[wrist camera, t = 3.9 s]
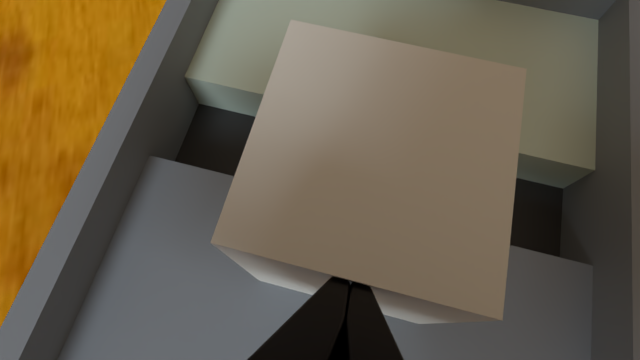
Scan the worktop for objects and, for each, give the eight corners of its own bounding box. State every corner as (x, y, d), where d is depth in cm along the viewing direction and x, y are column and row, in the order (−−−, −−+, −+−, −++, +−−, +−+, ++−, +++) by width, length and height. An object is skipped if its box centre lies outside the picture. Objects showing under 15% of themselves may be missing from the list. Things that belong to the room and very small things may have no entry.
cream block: (418, 324, 14) (502, 320, 8) (259, 280, 15) (210, 242, 8) (443, 173, 16) (526, 68, 10) (302, 140, 17) (290, 19, 10)
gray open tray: (565, 699, 13) (709, 917, 8) (3, 505, 14) (-148, 590, 10) (587, 42, 22) (661, -37, 17) (238, -27, 23) (217, -116, 19)
